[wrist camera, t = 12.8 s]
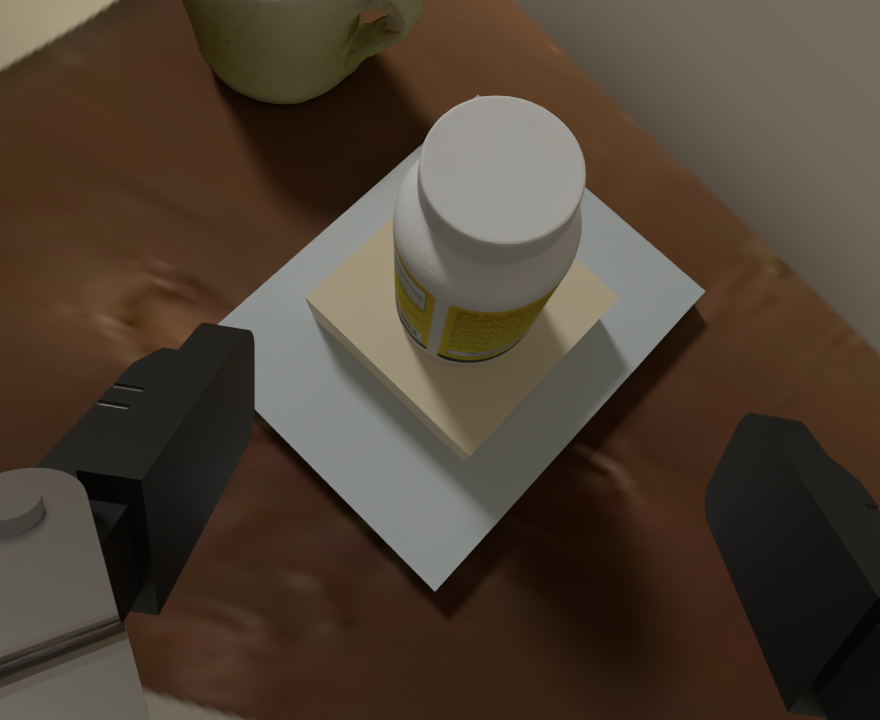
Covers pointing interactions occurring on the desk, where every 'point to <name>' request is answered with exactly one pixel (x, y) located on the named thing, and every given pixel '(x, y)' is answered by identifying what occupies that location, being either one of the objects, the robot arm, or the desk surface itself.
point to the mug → (294, 42)
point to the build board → (400, 444)
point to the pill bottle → (485, 227)
